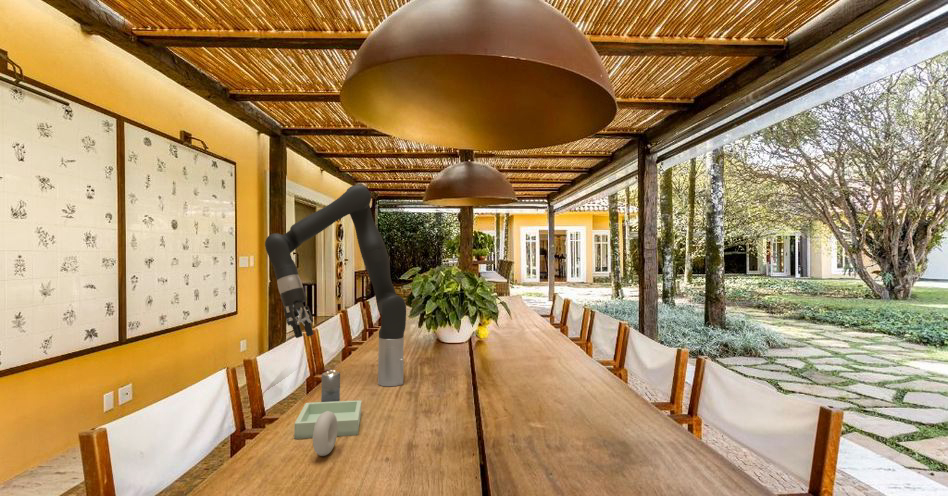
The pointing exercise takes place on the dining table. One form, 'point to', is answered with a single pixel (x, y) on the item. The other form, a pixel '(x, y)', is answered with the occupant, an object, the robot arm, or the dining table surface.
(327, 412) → the donut
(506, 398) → the dining table surface
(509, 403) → the dining table surface
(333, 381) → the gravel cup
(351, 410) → the pale green shallow tray
